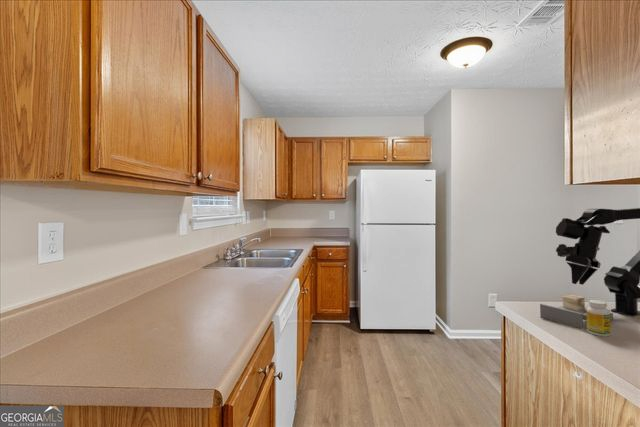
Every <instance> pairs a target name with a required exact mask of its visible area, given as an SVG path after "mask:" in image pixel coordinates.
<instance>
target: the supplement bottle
mask: <svg viewBox="0 0 640 427" xmlns="http://www.w3.org/2000/svg"><path fill="white" fill-rule="evenodd" d="M588 305H589V306H588V307H587V327H586V330H587V332H588V333H589V334H592V335H594V336H598V337H609V336H611V333H612V332H611V330H612V329H611V327H612V326H611V325H612V324H611V320H610V313H611V312H610V311H611V310H609V309H607V307H608V303H607V302H606V301H603V300H599V299H590V300H589V301H588Z"/></svg>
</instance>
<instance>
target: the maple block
mask: <svg viewBox="0 0 640 427" xmlns="http://www.w3.org/2000/svg"><path fill="white" fill-rule="evenodd" d="M585 300H586V299H585V297H584V296H578V295H576V294H575V295H573V294H567V295H563V296H562V306H563V307H564V308H568V309H572V310H577V311H578V310H582V309H585V307H586V304H585V303H586V301H585Z"/></svg>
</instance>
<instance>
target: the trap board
mask: <svg viewBox="0 0 640 427" xmlns="http://www.w3.org/2000/svg"><path fill="white" fill-rule="evenodd" d="M587 308H588V307H587V306H585V309H582V310H578V311H577V310H572V309H568V308H564V307H563V305H561V306H560V305H559V306H552V305H548V304H544V303H540V304H539V312H540V313H539V314H540V316H539V317H540V318H542V319H543V318H544V319H547V320H550V321H553V322H554V321H555V322H557V323H562V324H564V325H569V326H572V327H575V328H579V329H585V328H587ZM613 319H614V313H613V312H610V321H611V320H613Z"/></svg>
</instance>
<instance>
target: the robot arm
mask: <svg viewBox="0 0 640 427" xmlns="http://www.w3.org/2000/svg"><path fill="white" fill-rule="evenodd" d="M636 219H637V220H638V219H640V207H634V208H623V209H610V208H609V209H608V208H588V209H585V210H584V211H583V212H582V215H580V216H579V217H578V218H576V219H575V220H573V219H571V218H566V217H563V218H561V221H560V222H558V224H557V226H556V227H555V233H556V235H557V236H558V237H563V238H567V239H572V240H577V239H578V242H576V243H574V246H567V245H566V244H565V243H560V244H558V247H556V249H555V252H556V254H557V256H558V257H560V258H561V257H563V258H565V261H566V264H567V265H568V266H569V267H570V270H571V272H570V273H571V284H572V285H573V284H574V285H577V284H578V283H579V285H584V284H585V283H586V282H587V281H588V280H589V279H590V278H591V277H592V276H593V275H594V274H595V273H596V272H597V271H598V270H599V269H600V267H601V262H600V261H599V260H598V258H597V254H598V251H600V247H599V246H600V242H601V238H602V237H603V236H602V235H603V234H611V233H610V230H609V229H608V228H607V227H606V226H605V225H607V224H608V225H609V224H612V223H614V222H617V221H627V220H636ZM597 225H599V226H597ZM586 226H587V227H586ZM604 275H605V276H604V277H603V282H604V285H605V286H606V287H607V289H608V291H609V293H613V294H614V301H615V302H614V304H615V305H614V306H615V308H612V309H610V311H611V312H612V313H613V312H614V313H619V314H621V315H622V314H623V315H626V316H627V315H628V316H633V317H634V316H638V315H640V310H639V308H638V300H639V299H640V287H639V286H638V285H639V284H640V250H638V252H636V253H635V254H634V256H632V257H631V259H630V260H629V261H628V262H627V263H625V264H624V265H623V266H621V267H620V266H615V265H614V266H612V267H611V268H610V269H609V270H608V272H606V273H604Z"/></svg>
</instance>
